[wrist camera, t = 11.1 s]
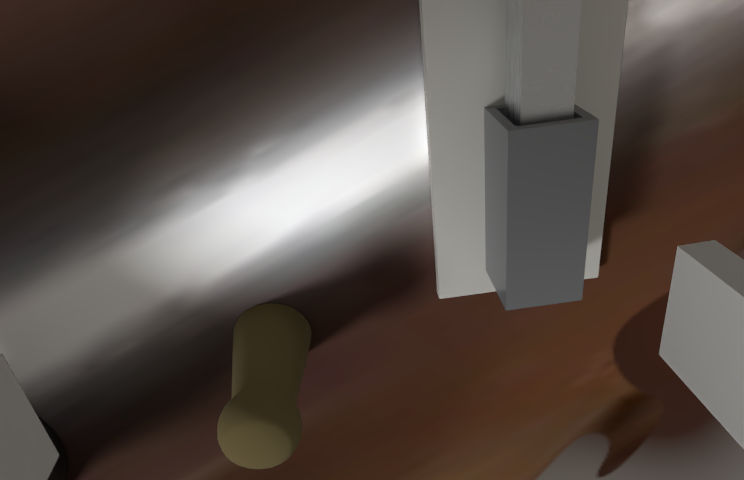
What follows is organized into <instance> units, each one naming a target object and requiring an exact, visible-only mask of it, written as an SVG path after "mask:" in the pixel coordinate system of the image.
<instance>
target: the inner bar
mask: <svg viewBox="0 0 744 480" xmlns="http://www.w3.org/2000/svg"><path fill="white" fill-rule="evenodd" d="M581 4H582V0H506V15H505V117H506V118H507V119H508V120H509V121H510V122H511V123H512V124H513V125H515V126H523V125H531V124H538V123H546V122H554V121H561V120H569V119H573V116H574V102H575V88H576V74H577V60H578V46H579V32H580V18H581Z"/></svg>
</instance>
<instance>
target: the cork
mask: <svg viewBox="0 0 744 480" xmlns="http://www.w3.org/2000/svg"><path fill="white" fill-rule="evenodd" d="M311 335H312V332H311V328H310V325H309V323H308V321H307V320H306V318H305V317H304V316H303V315H302V314H301V313H299V312H298V311H297V310H295V309H294V308H292V307H289V306H286V305H283V304H275V303H266V304H261V305H256V306H254V307H252V308H250V309H248V310H246V311H245V312H244V313H243V314H242V315H241V316H240V317H239V318H238V319H237V321H236V323H235V325H234V330H233V362H232V399H231V400H229V401H228V402H227V404H226V406H225V407H224V409H223V411H222V413H221V415H220V417H219V421H218V429H217V436H218V442H219V444H220V447H221V449H222V451H223V453H224V454H225V455H226V456H227V457H228V458H229V459H230V460H231V461H232V462H234V463H236V464H237V465H239V466H242V467H246V468H250V469H265V468H271V467H274V466H276V465H279V464H281V463H283V462H284V461H285V460H286V459H288V458H289V457H290V456H291V455H292V454H293V453H294V451H295V449H296V448H297V446H298V444H299V441H300V439H301V432H302V419H301V416H300V412H299V409H298V406H297V405H296V401H297V397H298V393H299V389H300V385H301V380H302V376H303V372H304V368H305V364H306V360H307V355H308V351H309V347H310V343H311Z"/></svg>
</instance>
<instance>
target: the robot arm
mask: <svg viewBox="0 0 744 480" xmlns="http://www.w3.org/2000/svg"><path fill="white" fill-rule="evenodd" d="M659 355H660V356H661V357H662V358H663V359H664V361H665V362H666V363H667V364H668V365H669V366H670V367H671V368H672V370H673V371H674V372H675V373H676V374H677V375H678V376H679V377H680V378H681V380H682V381H683V382H684V383H685V384H686V385H687V386H688V387H689V389H690V390H691V391H692V392H693V393H694V394H695V395H696V396H697V398H698V399H699V400H700V401H701V402H702V403H703V404H704V405H705V406H706V407H707V409H708V410H709V411H710V412H711V413H712V414H713V415H714V416H715V418H716V419H717V420H718V421H719V422H720V423H721V424H722V425H723V427H724V428H725V429H726V430H727V431H728V432H729V433H730V434H731V436H732V437H733V438H734V439H735V440H736V441H737V442H738V443H739V444H740V446H741V447H742V448H743V449H744V260H743V259H741V258H740V257H739V256H737V255H736V254H734V253H733V252H731V251H730V250H728V249H727V248H726V247H724V246H723V245H721V244H720V243H718V242H717V241H715V240H713V241H707V242H700V243H694V244H688V245H681V246H678V247H677V253H676V258H675V264H674V270H673V276H672V282H671V287H670V293H669V299H668V305H667V310H666V316H665V322H664V328H663V334H662V340H661V345H660V352H659ZM66 471H67V460H66V455H65V452H64V449H63V447H62V445H61V443H60V441H59V440H58V438H57V437H56V436H55V434H54V433H53V432H52V431H51V430H50V429H49V428H48V427H47V426H46V425H45V424H44V423H43V422H42V421H41V420H39V418H38V416H37V414H36V413H35V411H34V409H33V407H32V406H31V404H30V402H29V400H28V398H27V397H26V395H25V393H24V391H23V390H22V388H21V386H20V384H19V382H18V381H17V379H16V377H15V375H14V374H13V372H12V370H11V368H10V367H9V365H8V363H7V361H6V359H5V358H4V356H3V354H0V480H64V479H65V476H66Z"/></svg>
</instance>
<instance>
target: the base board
mask: <svg viewBox="0 0 744 480" xmlns="http://www.w3.org/2000/svg"><path fill="white" fill-rule="evenodd" d="M627 7H628V0H582V4H581V18H580V32H579V46H578V60H577V74H576V88H575V102H574V104H576V105H577V106H579V107H580V108H582V109H584V110H585V111H587V112H588V113H590V114H592V115H593V116H595V117H596V118H598V119H599V126H598V136H597V147H596V157H595V168H594V178H593V189H592V199H591V210H590V220H589V231H588V241H587V252H586V263H585V273H584V279H589V278H596V277H598V272H599V263H600V254H601V245H602V236H603V227H604V217H605V208H606V199H607V190H608V181H609V172H610V163H611V154H612V144H613V135H614V126H615V117H616V108H617V99H618V90H619V80H620V71H621V62H622V53H623V44H624V35H625V26H626V17H627ZM419 10H420V26H421V42H422V58H423V74H424V90H425V106H426V122H427V138H428V154H429V170H430V186H431V202H432V218H433V234H434V250H435V266H436V282H437V293H438V296H439V299H442V298H450V297H457V296H464V295H472V294H479V293H486V292H494V291H496V290H495V288H494V286H493V284H492V282H491V280H490V278H489V276H488V274H487V272H486V253H485V150H484V107H490V106H497V105H505V15H506V0H419Z"/></svg>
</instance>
